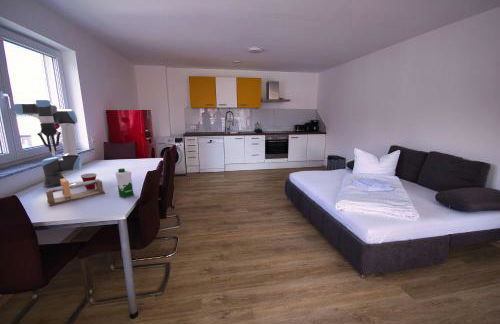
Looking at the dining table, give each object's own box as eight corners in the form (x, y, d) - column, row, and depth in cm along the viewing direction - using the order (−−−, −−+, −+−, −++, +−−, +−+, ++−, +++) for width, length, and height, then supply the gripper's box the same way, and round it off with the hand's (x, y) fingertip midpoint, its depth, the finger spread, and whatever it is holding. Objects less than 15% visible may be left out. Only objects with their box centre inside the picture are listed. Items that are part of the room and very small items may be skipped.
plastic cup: (90, 191, 178) (88, 176, 175) (79, 190, 180) (76, 176, 178) (102, 187, 188) (100, 173, 186) (91, 186, 191) (88, 172, 188)
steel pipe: (49, 192, 155) (48, 187, 154) (98, 182, 176) (97, 178, 175) (49, 193, 153) (48, 188, 152) (99, 183, 174) (98, 179, 173)
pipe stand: (47, 201, 158) (44, 189, 156) (100, 190, 181) (98, 179, 179) (50, 206, 150) (47, 193, 148) (105, 193, 173) (103, 182, 171)
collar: (62, 193, 163) (59, 179, 161) (67, 192, 166) (65, 178, 163) (65, 197, 156) (62, 182, 154) (71, 196, 158) (68, 181, 156)
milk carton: (128, 192, 174) (125, 167, 170) (135, 194, 169) (132, 168, 165) (117, 196, 167) (113, 170, 163) (124, 198, 162) (120, 171, 158)
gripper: (35, 123, 151) (42, 157, 156) (60, 122, 161) (66, 155, 166) (33, 122, 156) (41, 156, 161) (58, 122, 166) (64, 153, 171)
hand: (53, 155), depth 164 cm, fingers closed
